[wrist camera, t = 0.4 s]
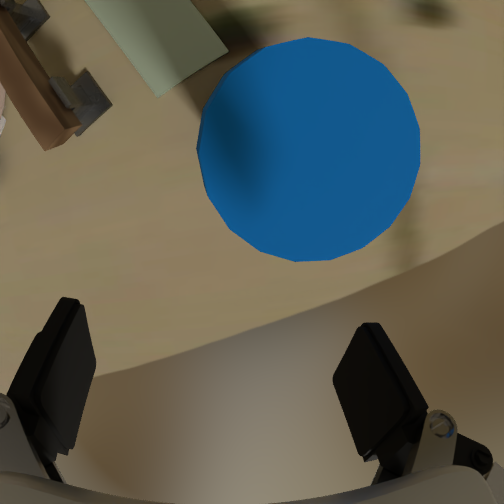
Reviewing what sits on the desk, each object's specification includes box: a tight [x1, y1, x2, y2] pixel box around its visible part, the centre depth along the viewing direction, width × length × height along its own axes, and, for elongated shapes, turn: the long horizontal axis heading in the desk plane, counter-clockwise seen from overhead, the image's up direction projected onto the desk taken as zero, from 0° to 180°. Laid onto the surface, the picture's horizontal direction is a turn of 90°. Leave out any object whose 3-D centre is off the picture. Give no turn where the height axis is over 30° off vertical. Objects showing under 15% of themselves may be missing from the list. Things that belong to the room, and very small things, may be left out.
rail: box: [0, 4, 82, 151], centre depth 17 cm, size 3×26×4 cm, turn 32°
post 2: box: [48, 72, 113, 137], centre depth 26 cm, size 6×6×10 cm
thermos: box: [196, 37, 420, 262], centre depth 23 cm, size 11×11×25 cm
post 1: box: [0, 0, 50, 41], centre depth 18 cm, size 6×6×10 cm
